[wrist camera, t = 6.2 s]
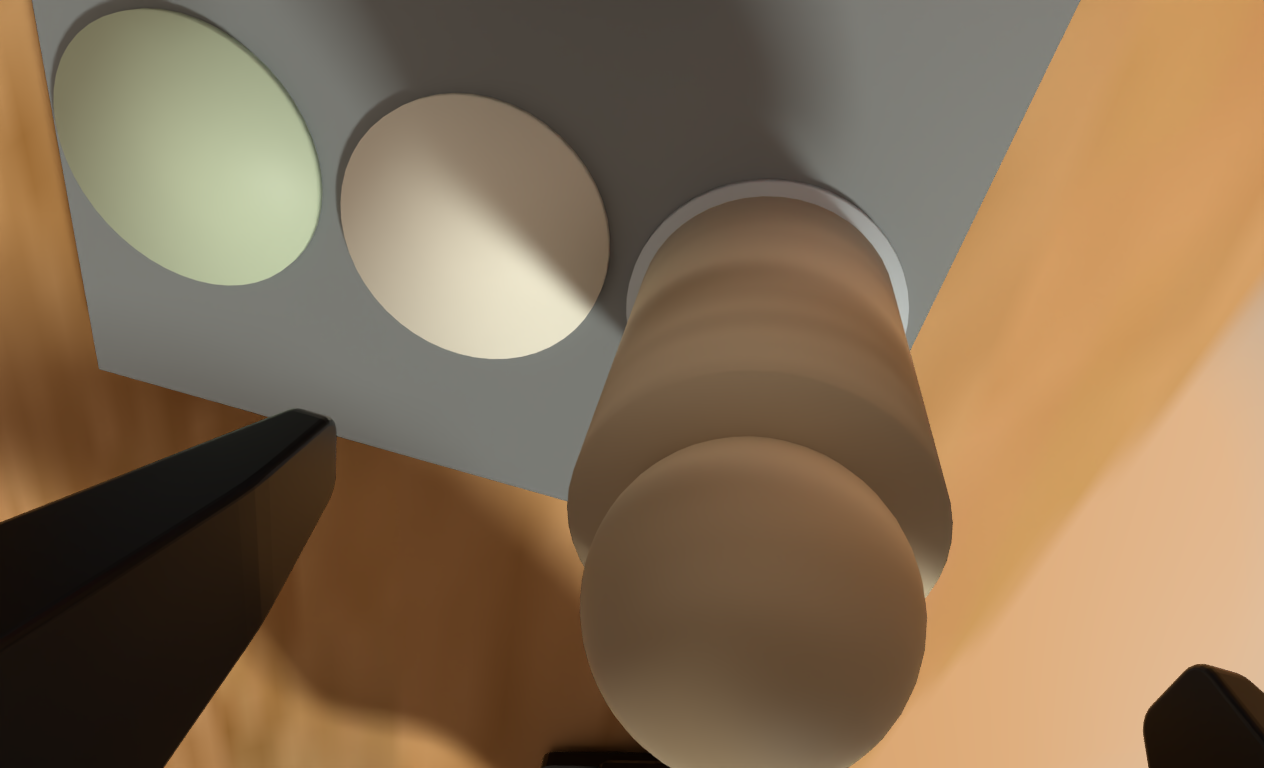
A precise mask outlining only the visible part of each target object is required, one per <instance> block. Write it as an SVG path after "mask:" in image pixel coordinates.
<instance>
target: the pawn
mask: <svg viewBox="0 0 1264 768" xmlns="http://www.w3.org/2000/svg"><path fill="white" fill-rule="evenodd" d="M567 511H568V523H569V528H570V532H571V536H572V540H573V544H574V546H575V549H576V551H577V553H578V556H579V558H580V560H581V562H582V564H583V565H584V572H583V577H582V584H581V594H580V620H581V630H582V637H583V644H584V648H585V652H586V656H587V659H588V662H589V665H590V669H591V672H592V675H593V677H594V679H595V681H596V684H597V686H598V688H599V690H600V692H601V694H602V696H603V698H604V699H605V701H606V703H607V705H608V706H609V708H610V709H611V711H612V713H613V714H614V716H615V717H616V718H617V719H618V721H619V722H620V723H621V724H622V726H623V727H624V728H625V729H626V730H627V732H628V733H629V734H630V735H631V736H632V737H633V738H634V739H635V740H636V741H637V742H638V743H639V744H640V745H641V746H642V747H643V748H645V749H646V750H647V751H648V752H649V753H651V754H652V755H653V756H654V757H656V758H657V759H658V760H660V761H661V762H662V763H664V764H665V765H667V766H669V767H670V768H848V767H850V766H851V765H853V764H854V763H855V762H857V761H858V760H860V759H861V758H862V757H863V756H864V755H866V754H867V753H868V752H869V751H870V750H871V749H873V748H874V747H875V746H876V745H877V744H878V743H879V742H880V741H881V740H882V739H883V737H884V736H885V735H886V734H887V732H888V731H889V730H890V728H891V727H892V726H893V724H894V723H895V722H896V720H897V719H898V718H899V716H900V715H901V713H902V711H903V709H904V707H905V705H906V703H907V701H908V699H909V697H910V695H911V693H912V691H913V689H914V687H915V685H916V681H917V678H918V674H919V670H920V667H921V663H922V659H923V655H924V651H925V639H926V623H927V613H926V603H925V598H926V597H927V596H928V594H929V593H930V591H931V590H932V588H933V587H934V585H935V584H936V582H937V581H938V579H939V577H940V575H941V572H942V570H943V568H944V566H945V563H946V561H947V557H948V553H949V549H950V546H951V540H952V525H953V521H952V512H951V503H950V499H949V495H948V492H947V488H946V484H945V480H944V477H943V473H942V469H941V465H940V462H939V458H938V454H937V450H936V447H935V443H934V439H933V436H932V432H931V428H930V424H929V421H928V417H927V413H926V409H925V406H924V402H923V398H922V395H921V391H920V387H919V383H918V380H917V376H916V372H915V368H914V365H913V361H912V357H911V354H910V350H909V346H908V342H907V339H906V335H905V331H904V327H903V324H902V320H901V316H900V312H899V309H898V305H897V301H896V298H895V294H894V290H893V287H892V283H891V280H890V276H889V273H888V271H887V269H886V267H885V265H884V262H883V260H882V258H881V257H880V255H879V254H878V252H877V251H876V249H875V248H874V246H873V245H872V244H871V243H870V242H869V240H868V239H867V238H866V237H865V236H864V235H863V234H862V233H861V232H860V231H859V230H858V229H856V228H855V227H854V226H853V225H852V224H850V223H849V222H848V221H846V220H845V219H843V218H842V217H840V216H838V215H837V214H835V213H834V212H832V211H829V210H827V209H825V208H823V207H820V206H818V205H815V204H812V203H809V202H805V201H802V200H798V199H792V198H785V197H771V196H760V197H749V198H742V199H738V200H733V201H729V202H726V203H723V204H720V205H717V206H714V207H712V208H709V209H707V210H705V211H704V212H702V213H700V214H698V215H696V216H694V217H693V218H691V219H690V220H688V221H687V222H685V223H684V224H683V225H681V226H680V227H679V228H678V229H677V230H676V231H675V232H673V233H672V234H671V235H670V236H669V237H668V238H667V240H666V241H665V242H664V243H663V244H662V246H661V247H660V248H659V249H658V251H657V252H656V254H655V256H654V257H653V259H652V260H651V262H650V264H649V267H648V269H647V271H646V273H645V276H644V278H643V281H642V284H641V286H640V289H639V292H638V295H637V297H636V300H635V303H634V306H633V308H632V311H631V314H630V317H629V319H628V322H627V325H626V328H625V330H624V333H623V336H622V339H621V341H620V344H619V347H618V349H617V352H616V355H615V358H614V360H613V363H612V366H611V369H610V371H609V374H608V377H607V380H606V382H605V385H604V388H603V391H602V393H601V396H600V399H599V401H598V404H597V407H596V410H595V412H594V415H593V418H592V421H591V423H590V426H589V429H588V432H587V434H586V437H585V440H584V443H583V445H582V448H581V451H580V454H579V456H578V459H577V462H576V464H575V467H574V470H573V474H572V478H571V481H570V485H569V491H568V502H567Z"/></svg>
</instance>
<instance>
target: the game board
mask: <svg viewBox="0 0 1264 768" xmlns="http://www.w3.org/2000/svg"><path fill="white" fill-rule="evenodd" d="M1079 2H1080V0H32V3H33V9H34V14H35V20H36V25H37V31H38V36H39V42H40V47H41V53H42V58H43V64H44V69H45V75H46V80H47V86H48V91H49V97H50V102H51V108H52V113H53V119H54V124H55V130H56V135H57V141H58V146H59V152H60V157H61V163H62V168H63V174H64V179H65V185H66V190H67V196H68V201H69V207H70V212H71V218H72V223H73V229H74V234H75V240H76V245H77V251H78V256H79V262H80V267H81V273H82V278H83V284H84V289H85V295H86V300H87V306H88V311H89V317H90V322H91V328H92V333H93V339H94V344H95V350H96V355H97V361H98V366H99V369H100V370H104V371H108V372H111V373H115V374H118V375H122V376H125V377H129V378H132V379H136V380H139V381H143V382H147V383H150V384H154V385H157V386H161V387H164V388H168V389H171V390H175V391H178V392H182V393H186V394H189V395H193V396H196V397H200V398H203V399H207V400H210V401H214V402H217V403H221V404H225V405H228V406H232V407H235V408H239V409H242V410H246V411H249V412H253V413H256V414H260V415H264V416H267V417H271V416H273V415H276V414H279V413H281V412H284V411H286V410H289V409H293V408H299V409H305V410H308V411H312V412H315V413H319V414H322V415H326V416H329V417H330V418H332V419H333V420H334V422H335V425H336V430H337V436H338V437H342V438H345V439H349V440H352V441H356V442H359V443H363V444H366V445H370V446H373V447H377V448H381V449H384V450H388V451H391V452H395V453H398V454H402V455H405V456H409V457H412V458H416V459H420V460H423V461H427V462H430V463H434V464H437V465H441V466H444V467H448V468H451V469H455V470H459V471H462V472H466V473H469V474H473V475H476V476H480V477H483V478H487V479H490V480H494V481H498V482H501V483H505V484H508V485H512V486H515V487H519V488H522V489H526V490H529V491H533V492H537V493H540V494H544V495H547V496H551V497H554V498H558V499H561V500H565V501H568V491H569V485H570V481H571V478H572V474H573V470H574V467H575V464H576V462H577V459H578V456H579V454H580V451H581V448H582V445H583V443H584V440H585V437H586V434H587V432H588V429H589V426H590V423H591V421H592V418H593V415H594V412H595V410H596V407H597V404H598V401H599V399H600V396H601V393H602V391H603V388H604V385H605V382H606V380H607V377H608V374H609V371H610V369H611V366H612V363H613V360H614V358H615V355H616V352H617V349H618V347H619V344H620V341H621V339H622V336H623V333H624V330H625V328H626V325H627V322H628V319H629V317H630V314H631V311H632V308H633V306H634V303H635V300H636V297H637V295H638V292H639V289H640V286H641V284H642V281H643V278H644V276H645V273H646V271H647V269H648V267H649V264H650V262H651V260H652V259H653V257H654V256H655V254H656V252H657V251H658V249H659V248H660V247H661V246H662V244H663V243H664V242H665V241H666V240H667V238H668V237H669V236H670V235H671V234H672V233H673V232H675V231H676V230H677V229H678V228H679V227H680V226H681V225H683V224H684V223H685V222H687V221H688V220H690V219H691V218H693V217H694V216H696V215H698V214H700V213H702V212H704V211H705V210H707V209H709V208H712V207H714V206H717V205H720V204H723V203H726V202H729V201H733V200H738V199H742V198H749V197H760V196H771V197H785V198H792V199H798V200H802V201H805V202H809V203H812V204H815V205H818V206H820V207H823V208H825V209H827V210H829V211H832V212H834V213H835V214H837V215H838V216H840V217H842V218H843V219H845V220H846V221H848V222H849V223H850V224H852V225H853V226H854V227H855V228H856V229H858V230H859V231H860V232H861V233H862V234H863V235H864V236H865V237H866V238H867V239H868V240H869V242H870V243H871V244H872V245H873V246H874V248H875V249H876V251H877V252H878V254H879V255H880V257H881V258H882V260H883V262H884V265H885V267H886V269H887V271H888V273H889V276H890V280H891V283H892V287H893V290H894V294H895V298H896V301H897V305H898V309H899V312H900V316H901V320H902V324H903V327H904V331H905V335H906V339H907V342H908V346H909V350H911V348H912V345H913V343H914V341H915V339H916V337H917V335H918V333H919V331H920V329H921V327H922V325H923V323H924V321H925V319H926V317H927V315H928V313H929V311H930V308H931V306H932V304H933V302H934V300H935V298H936V296H937V294H938V292H939V290H940V288H941V286H942V284H943V282H944V280H945V278H946V276H947V274H948V271H949V269H950V267H951V265H952V263H953V261H954V259H955V257H956V255H957V253H958V251H959V249H960V247H961V245H962V243H963V241H964V239H965V236H966V234H967V232H968V230H969V228H970V226H971V224H972V222H973V220H974V218H975V216H976V214H977V212H978V210H979V208H980V206H981V204H982V202H983V199H984V197H985V195H986V193H987V191H988V189H989V187H990V185H991V183H992V181H993V179H994V177H995V175H996V173H997V171H998V169H999V167H1000V165H1001V162H1002V160H1003V158H1004V156H1005V154H1006V152H1007V150H1008V148H1009V146H1010V144H1011V142H1012V140H1013V138H1014V136H1015V134H1016V132H1017V130H1018V128H1019V125H1020V123H1021V121H1022V119H1023V117H1024V115H1025V113H1026V111H1027V109H1028V107H1029V105H1030V103H1031V101H1032V99H1033V97H1034V95H1035V93H1036V90H1037V88H1038V86H1039V84H1040V82H1041V80H1042V78H1043V76H1044V74H1045V72H1046V70H1047V68H1048V66H1049V64H1050V62H1051V60H1052V58H1053V56H1054V53H1055V51H1056V49H1057V47H1058V45H1059V43H1060V41H1061V39H1062V37H1063V35H1064V33H1065V31H1066V29H1067V27H1068V25H1069V23H1070V21H1071V19H1072V16H1073V14H1074V12H1075V10H1076V8H1077V6H1078V4H1079Z"/></svg>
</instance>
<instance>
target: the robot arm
mask: <svg viewBox="0 0 1264 768" xmlns="http://www.w3.org/2000/svg"><path fill="white" fill-rule="evenodd" d="M336 437H337V430H336V425H335V422H334V420H333V419H332V418H330V417H329V416H326V415H322V414H319V413H315V412H312V411H308V410H305V409H299V408H293V409H289V410H286V411H284V412H281V413H279V414H276V415H273V416H271V417H268V418H266V419H263V420H261V421H258V422H256V423H253V424H250V425H248V426H245V427H243V428H240V429H238V430H235V431H233V432H230V433H227V434H225V435H222V436H220V437H217V438H215V439H212V440H210V441H207V442H204V443H202V444H199V445H197V446H194V447H192V448H189V449H187V450H184V451H181V452H179V453H176V454H174V455H171V456H169V457H166V458H164V459H161V460H158V461H156V462H153V463H151V464H148V465H146V466H143V467H141V468H138V469H135V470H133V471H130V472H128V473H125V474H123V475H120V476H118V477H115V478H112V479H110V480H107V481H105V482H102V483H100V484H97V485H95V486H92V487H89V488H87V489H84V490H82V491H79V492H77V493H74V494H72V495H69V496H66V497H64V498H61V499H59V500H56V501H54V502H51V503H49V504H46V505H43V506H41V507H38V508H36V509H33V510H31V511H28V512H26V513H23V514H20V515H18V516H15V517H13V518H10V519H8V520H5V521H3V522H0V768H164V767H165V765H166V764H167V762H168V761H169V759H170V758H171V757H172V755H173V754H174V752H175V751H176V749H177V748H178V746H179V745H180V743H181V742H182V741H183V739H184V738H185V736H186V735H187V733H188V732H189V730H190V729H191V728H192V726H193V725H194V723H195V722H196V720H197V719H198V717H199V716H200V715H201V713H202V712H203V710H204V709H205V707H206V706H207V704H208V703H209V702H210V700H211V699H212V697H213V696H214V694H215V693H216V691H217V690H218V688H219V687H220V686H221V684H222V683H223V681H224V680H225V678H226V677H227V675H228V674H229V673H230V671H231V670H232V668H233V667H234V665H235V664H236V662H237V661H238V660H239V658H240V657H241V655H242V654H243V652H244V651H245V649H246V648H247V646H248V645H249V643H250V642H251V640H252V639H253V637H254V636H255V634H256V633H257V631H258V630H259V628H260V627H261V625H262V623H263V622H264V620H265V618H266V616H267V615H268V613H269V611H270V609H271V608H272V606H273V604H274V602H275V600H276V598H277V597H278V595H279V593H280V591H281V589H282V587H283V585H284V584H285V582H286V580H287V578H288V576H289V574H290V572H291V571H292V569H293V567H294V565H295V563H296V561H297V559H298V557H299V556H300V554H301V552H302V550H303V548H304V546H305V544H306V543H307V541H308V539H309V537H310V535H311V533H312V531H313V529H314V528H315V526H316V524H317V522H318V520H319V518H320V516H321V515H322V513H323V511H324V509H325V507H326V505H327V503H328V501H329V499H330V497H331V495H332V492H333V489H334V485H335V478H336ZM1143 735H1144V742H1145V748H1146V754H1147V761H1148V767H1149V768H1264V693H1263V692H1262V691H1261V690H1260V689H1259V688H1258V687H1256V686H1255V685H1254V684H1253V683H1252V682H1251V681H1250V680H1248V679H1247V678H1245V677H1244V676H1242V675H1240V674H1238V673H1235V672H1231V671H1228V670H1224V669H1221V668H1217V667H1214V666H1210V665H1206V664H1197V665H1194V666H1191V667H1189V668H1188V669H1186V670H1185V671H1184V672H1183V673H1182V674H1181V675H1180V676H1179V677H1178V678H1177V679H1176V681H1175V682H1174V683H1173V684H1172V685H1171V686H1170V687H1169V688H1168V689H1167V690H1166V691H1165V692H1164V693H1163V694H1162V695H1161V696H1160V697H1159V698H1158V699H1157V701H1156V702H1154V703H1153V705H1152V706H1151V707H1150V708H1149V709H1148V711H1147V713H1146V715H1145V719H1144V725H1143ZM540 768H670V767H669V766H667V765H665V764H664V763H662V762H661V761H660V760H658V759H657V758H656V757H654V756H653V755H652V754H651V753H608V752H549V753H548V754H546V755H545V756H544V757H543V759H542V763H541V767H540Z"/></svg>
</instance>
